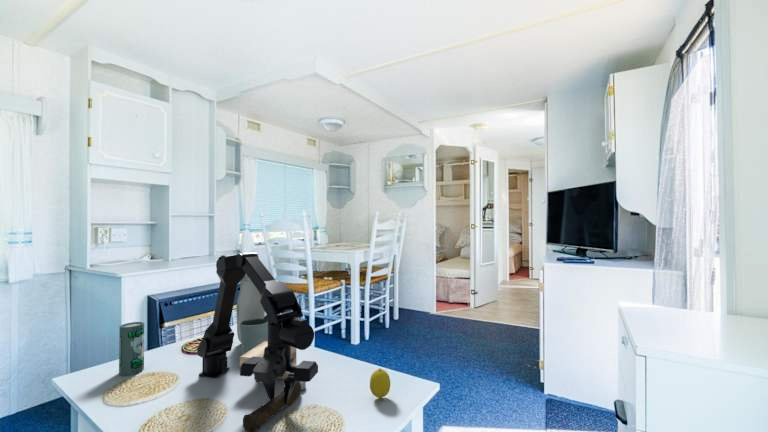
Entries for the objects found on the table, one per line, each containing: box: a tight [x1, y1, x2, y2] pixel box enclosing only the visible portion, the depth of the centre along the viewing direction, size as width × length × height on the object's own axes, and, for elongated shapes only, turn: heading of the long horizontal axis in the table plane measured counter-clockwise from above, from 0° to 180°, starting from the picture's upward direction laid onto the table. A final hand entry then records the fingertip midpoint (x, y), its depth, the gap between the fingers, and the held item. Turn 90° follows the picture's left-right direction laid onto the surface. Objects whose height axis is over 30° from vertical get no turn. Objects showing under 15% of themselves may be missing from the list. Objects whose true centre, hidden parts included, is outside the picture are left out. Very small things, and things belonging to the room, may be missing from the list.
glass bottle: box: [236, 274, 266, 343], centre depth 134 cm, size 10×10×28 cm
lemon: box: [369, 368, 391, 400], centre depth 91 cm, size 6×6×8 cm
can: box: [118, 321, 145, 377], centre depth 109 cm, size 6×6×15 cm
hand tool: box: [242, 381, 302, 432], centre depth 85 cm, size 19×4×5 cm, turn 154°
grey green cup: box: [240, 318, 268, 356], centre depth 122 cm, size 10×10×12 cm
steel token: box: [300, 381, 307, 393], centre depth 97 cm, size 4×4×2 cm
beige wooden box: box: [239, 341, 297, 380], centre depth 101 cm, size 11×13×10 cm
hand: (279, 402), depth 85 cm, fingers open, 4 cm apart
